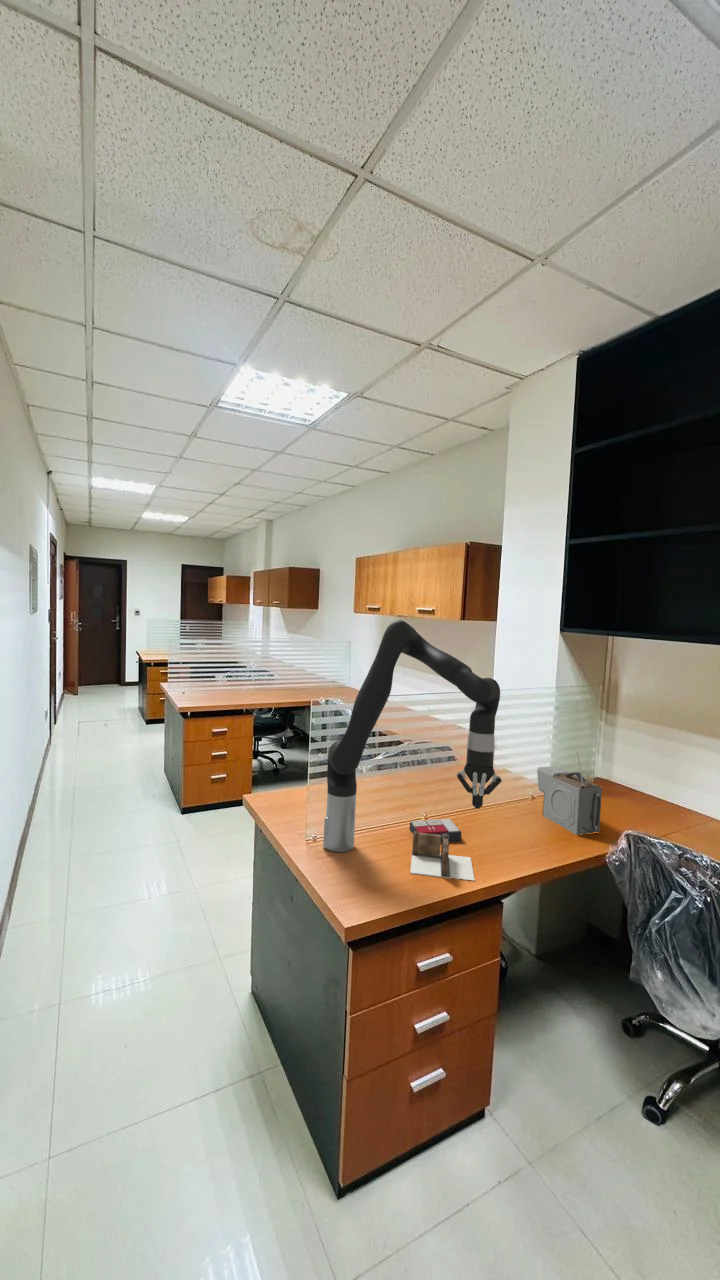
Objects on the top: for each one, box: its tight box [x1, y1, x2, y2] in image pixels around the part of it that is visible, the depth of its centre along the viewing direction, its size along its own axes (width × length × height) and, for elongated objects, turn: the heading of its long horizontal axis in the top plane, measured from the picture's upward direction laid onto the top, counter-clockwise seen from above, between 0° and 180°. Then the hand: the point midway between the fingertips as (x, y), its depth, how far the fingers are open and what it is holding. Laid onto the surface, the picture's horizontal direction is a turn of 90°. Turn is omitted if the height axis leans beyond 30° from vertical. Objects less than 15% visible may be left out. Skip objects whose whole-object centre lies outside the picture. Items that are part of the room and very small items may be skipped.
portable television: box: [536, 751, 603, 836], centre depth 181 cm, size 12×24×30 cm, turn 18°
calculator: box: [409, 818, 462, 843], centre depth 164 cm, size 11×4×15 cm
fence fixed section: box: [411, 831, 450, 858], centre depth 148 cm, size 11×2×7 cm, turn 81°
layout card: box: [409, 853, 476, 882], centre depth 143 cm, size 18×14×1 cm
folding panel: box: [441, 838, 450, 876], centre depth 141 cm, size 11×2×6 cm, turn 169°
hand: (476, 807), depth 138 cm, fingers closed
